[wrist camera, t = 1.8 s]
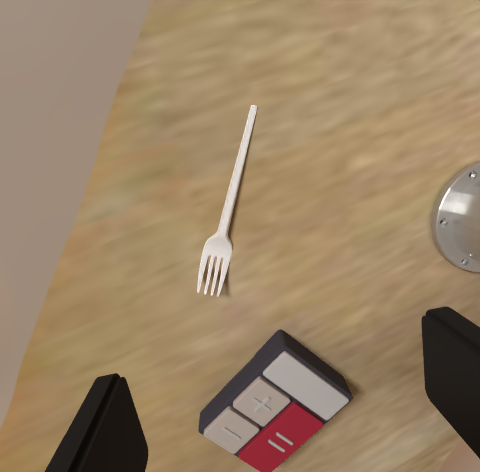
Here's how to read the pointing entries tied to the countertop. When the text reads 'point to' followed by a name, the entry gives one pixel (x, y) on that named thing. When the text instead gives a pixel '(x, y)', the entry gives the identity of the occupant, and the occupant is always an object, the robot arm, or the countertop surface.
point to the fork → (225, 218)
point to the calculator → (274, 403)
